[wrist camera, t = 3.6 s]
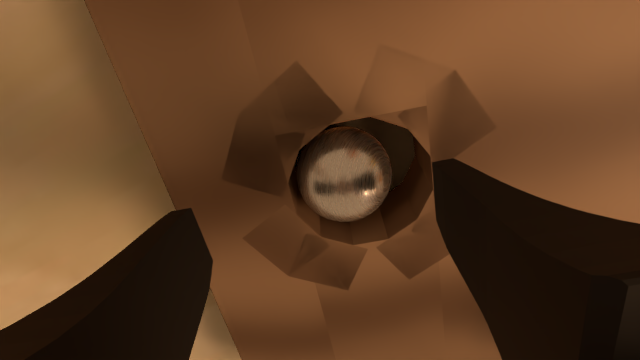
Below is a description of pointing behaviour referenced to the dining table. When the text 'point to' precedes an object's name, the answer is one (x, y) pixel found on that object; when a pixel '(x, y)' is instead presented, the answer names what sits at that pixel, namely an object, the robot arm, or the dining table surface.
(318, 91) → the board
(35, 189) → the dining table surface
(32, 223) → the dining table surface
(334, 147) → the steel ball
